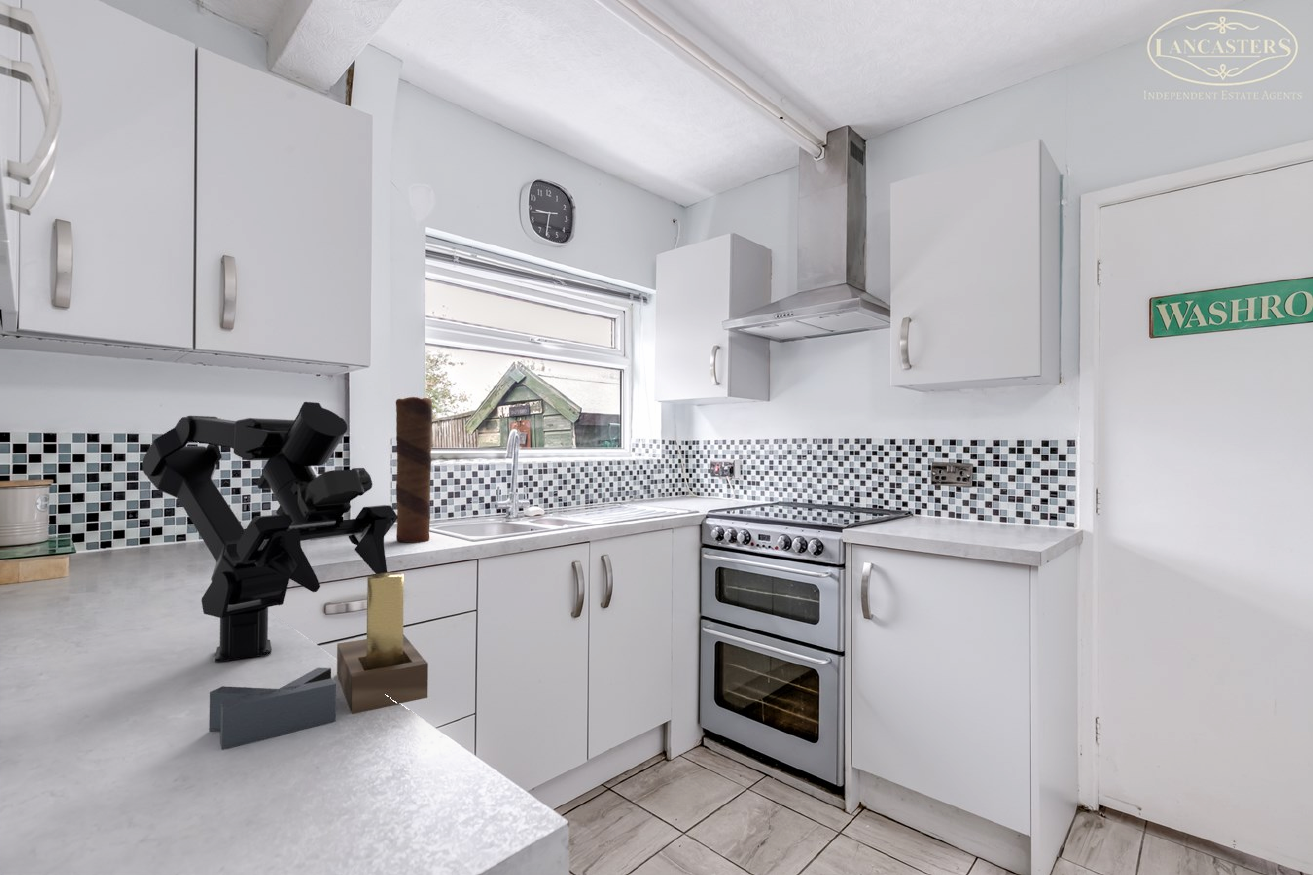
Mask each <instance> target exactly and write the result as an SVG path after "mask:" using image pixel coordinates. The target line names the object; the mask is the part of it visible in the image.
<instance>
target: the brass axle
mask: <svg viewBox="0 0 1313 875" xmlns="http://www.w3.org/2000/svg"><path fill="white" fill-rule="evenodd" d="M366 578H367V580H366V583H367V584H366V585H367V586H366V590H367V591H366V639H367V648H366V670H372V669H377V668H383V667H389V666H394V665H400V664H403V634H404V601H405V600H404V598H405V597H404V596H405V594H404V592H405V591H404V590H405V588H404V587H405V583H404V582H405V581H404V580H405V574H404V573H400V572H387V573H380V574H376V573H375V574H371V575H368V576H367V577H366Z"/></svg>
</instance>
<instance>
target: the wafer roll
mask: <svg viewBox="0 0 1313 875" xmlns="http://www.w3.org/2000/svg"><path fill="white" fill-rule="evenodd" d="M432 405H433V403H432V399H431V398H429V397H424V398H421V397H418V396H417V397H416V396H409V397H405V398H397V399H396V400H395V413H396V414H395V419H396V420H395V422H396V425H395V427H396V428H395V432H396V433H395V434H396V437H395V439H396V450H395V451H396V462H397V464H396V465H397V466H396V476H395V477H396V478H395V479H396V484H395V491H396V493H395V495H396V496H395V500H396V515H397V517H398V518H397V520H396V533H395V534H396V538H395V539H396V542H402V543H422V542H423V543H424V542H427V541H428V542H429V540H430V522H431V521H430V520H431V513H430V512H431V506H430V505H431V504H430V503H431V501H430V500H431V474H432V473H431V470H432V458H431V457H432V455H431V454H432V453H431V452H432V422H433V421H432V414H433V409H432V408H433V406H432Z"/></svg>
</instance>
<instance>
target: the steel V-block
mask: <svg viewBox="0 0 1313 875" xmlns="http://www.w3.org/2000/svg"><path fill="white" fill-rule="evenodd" d="M336 711H337V682H335V680H334V679H333V678H332V668H331V667H316V668H315V669H312V670H311V671H309V672H307V673H306V674H304V675H301V676H300V677H298V678H297V679H294V680H292V681H290V682H289V683H287V684H284V686H282V687H280V688H268V687H267V688H266V687H263V688H262V687H245V686H243V687H242V686H225V685H224V686H220V687H218V688H215V689H214V690H212V691H210V692H209V722H208V723H209V728H208V730H209V732H214V733H216V732H217V733H220V734H219V738H220V740H219V742H220V747H221V750H225V749H226V750H227V749H230V748H234V747H238V746H242V745H247V744H251V743H254V742H257V741H261V740H266V739H270V738H275V737H277V736H278V737H279V736H282V735H287V734H291V733H294V732H299V731H302V730H307V729H311V728H315V727H319V726H323V725H326V724H330V723H335V722H337V721H336V720H337V716H336V715H337V712H336Z"/></svg>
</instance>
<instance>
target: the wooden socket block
mask: <svg viewBox="0 0 1313 875" xmlns="http://www.w3.org/2000/svg"><path fill="white" fill-rule="evenodd" d="M336 646H337V647H336V657H337V658H336V677H337V678H338V681H339V683H340V686H341V689H342V692H343V694H344V696H345V699H346V702H347V705H348V707H349V709H350V711H351V712H350V713H351V714H357V713H362V712H366V711H371V710H376V709H380V708H384V707H385V708H386V707H390V706H394V705H399V704H404V703H408V702H413V701H415V702H416V701H417V700H423V699H427V698H428V684H429V683H428V679H429V678H428V674H429V673H428V671H429V670H428V668H429V667H428V662H427V661H426V660H425V658H424V657H423V656H422V655H421V653H419V651H418V650H417V648H415V646H414V645H413V644H412V643H411V641H410V640H409V639H408V638H407V637H406V635H405V634H404V633H403V664H400V665H394V666H389V667H383V668H377V669H372V670H366V648H367V638H364V639H358V640H351V641H345V642H338V643H337V645H336ZM385 694H386V695H388V696H389V697H387V696H386V695H385ZM390 697H391V699H392V700H394V701H396V702H397V703H398V704H396V703H395V702H393V701H392V700H391V699H390Z"/></svg>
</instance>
